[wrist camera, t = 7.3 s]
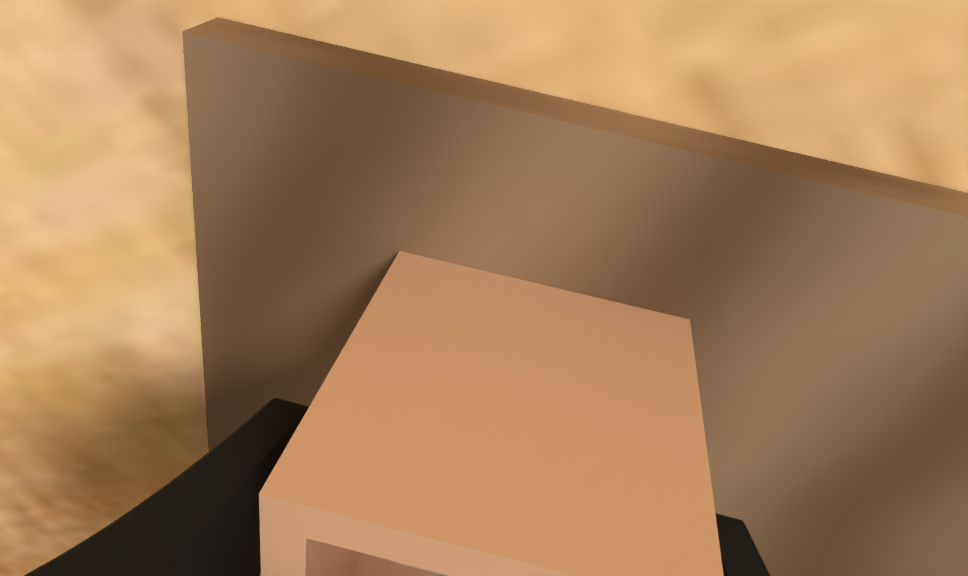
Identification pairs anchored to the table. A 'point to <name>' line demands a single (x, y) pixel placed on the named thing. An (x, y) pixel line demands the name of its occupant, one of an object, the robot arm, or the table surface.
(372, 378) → the duct sleeve
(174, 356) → the table surface
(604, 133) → the duct board
